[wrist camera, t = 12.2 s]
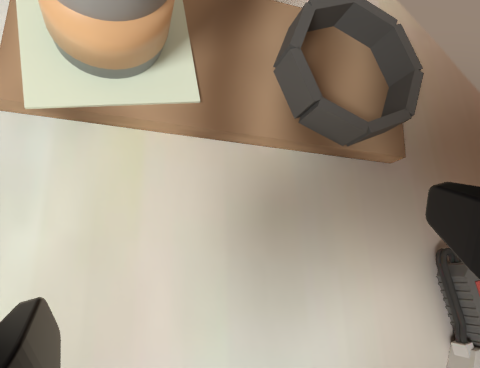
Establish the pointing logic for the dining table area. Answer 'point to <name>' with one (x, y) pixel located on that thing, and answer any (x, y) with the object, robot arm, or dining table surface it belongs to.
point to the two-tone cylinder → (109, 33)
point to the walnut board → (240, 83)
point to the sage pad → (97, 88)
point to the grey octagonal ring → (384, 50)
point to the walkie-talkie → (460, 309)
